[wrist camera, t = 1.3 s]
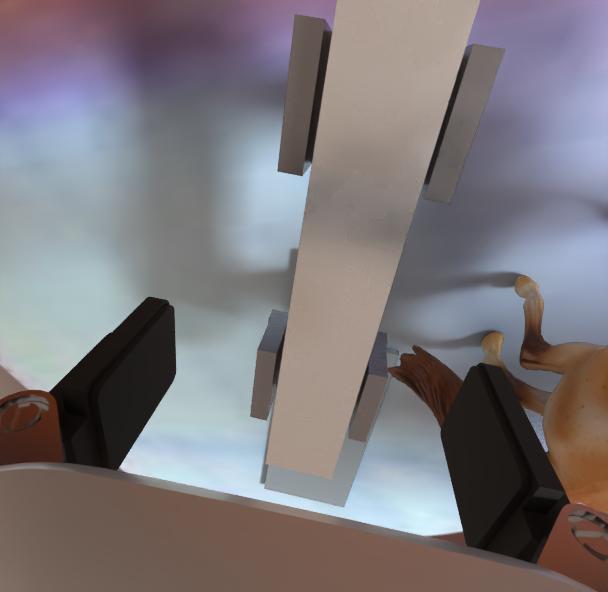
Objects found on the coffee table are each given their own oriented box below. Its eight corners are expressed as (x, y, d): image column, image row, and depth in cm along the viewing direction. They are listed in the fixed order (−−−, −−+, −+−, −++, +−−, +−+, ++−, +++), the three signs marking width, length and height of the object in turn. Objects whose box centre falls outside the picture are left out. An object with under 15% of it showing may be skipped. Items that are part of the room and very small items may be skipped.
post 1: (382, 264, 30) (392, 370, 18) (365, 325, 33) (365, 448, 21) (297, 247, 30) (256, 341, 19) (288, 309, 33) (247, 422, 22)
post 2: (441, 60, 23) (515, 30, 11) (412, 161, 26) (448, 217, 14) (329, 41, 23) (293, -6, 12) (313, 143, 26) (273, 183, 15)
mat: (398, 351, 33) (398, 355, 33) (344, 502, 45) (344, 507, 45) (290, 328, 34) (289, 332, 33) (265, 483, 46) (264, 488, 45)
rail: (467, -34, 13) (504, -77, 10) (336, 425, 25) (331, 479, 22) (356, -51, 13) (352, -100, 10) (279, 412, 25) (265, 463, 22)
